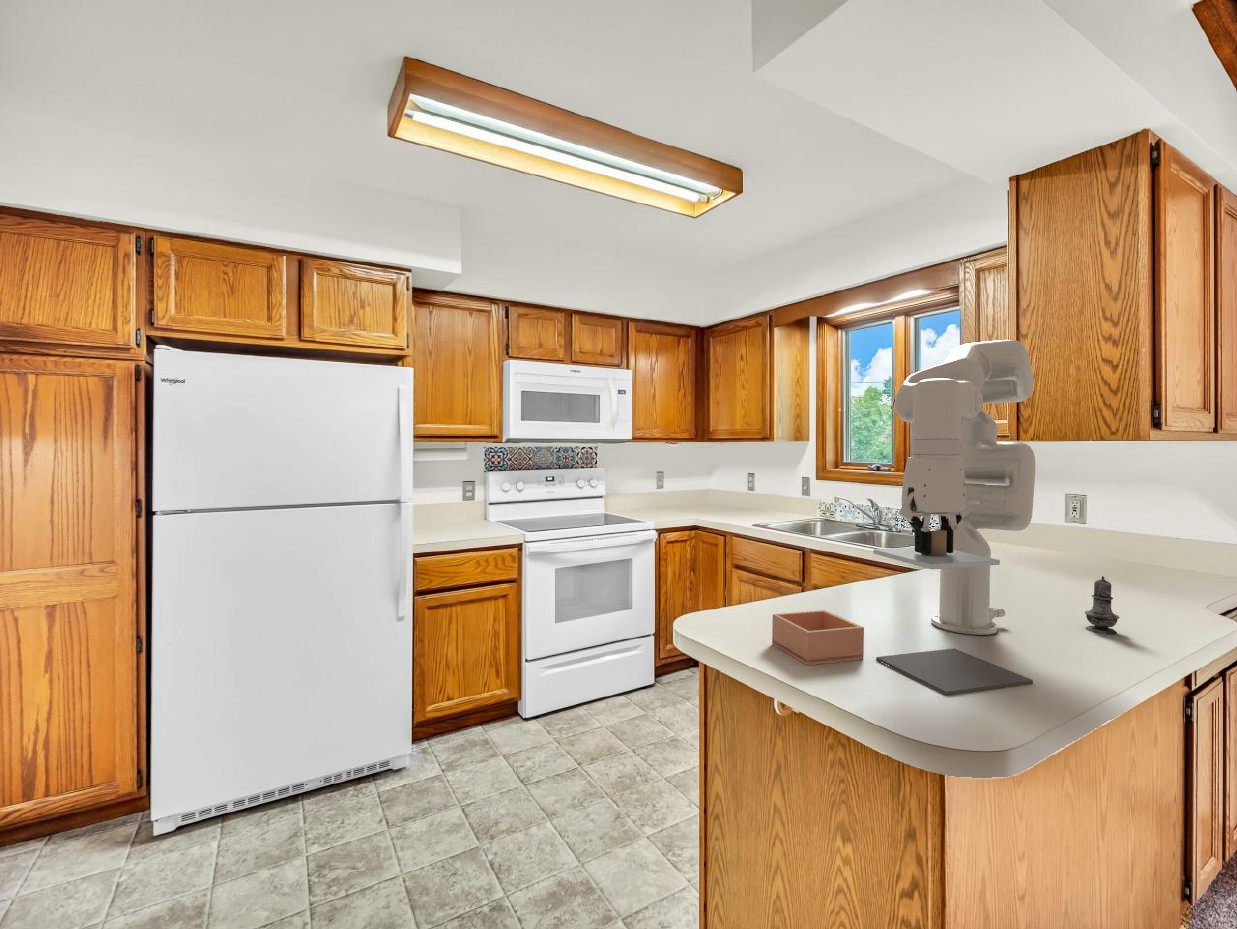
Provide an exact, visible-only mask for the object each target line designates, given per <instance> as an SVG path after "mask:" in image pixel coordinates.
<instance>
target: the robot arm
mask: <svg viewBox="0 0 1237 929" xmlns="http://www.w3.org/2000/svg"><path fill="white" fill-rule="evenodd" d="M1033 373H1034V372H1033V367H1032V364H1031V359H1030V356H1029V352H1028V350H1027V348H1026V346H1025V345H1023V343H1022V342H1020V341H1019V340H1017V339H1002V340H1001V339H999V340H992V341H990V340H989V341H980V342H971V343H970V342H969V343H965V344H962V345H959V346H958V347H956V348H955V349H954V350H953V351H952V352H951V353H950V355H949V356H948V357H947V358H946V359H945V361H944V362H942V363H940V364H937V365H933V366H931V367H929V368H925V369H922V370H920V371H917V372H915V373H912V374H911V375H908V377H906V379H905V380H904V382H903V381H902V382H903V383H902V384H901V385H900V386H899V389H898V391H897V393H896V396H895V398H894V399H895V400H894V407H895V412H896V415H897V417H898V418H899V419H900V420H901V421H903V422H905V423H911V424H912V436H911V437H912V441H911V457H909V456H908V458H907V460H906V463H905V468H904V473H903V478H902V479H903V480H902V488H901V507H900V510H899V512H898V515H899V516H900V517H902V518H903V519H904V520H906V521H907V522H908V523H909V525H910V527H911V529H912V530H913V531H914V547H915V552H918V553H922V554H930V553H931V532H928V529H929V528H930V522H931V517H932V515H937V516H938V517H937V518H938V524H939V528H938V527H936V529H944V530H947V553H953V550H957V551H961V552H966V553H970V554H975V555H979V556H984V557H988V558H992V552H991V547H990V545H989V543H988V541H987V540H986V539H985V538H984V536H983V535H982V534H981V533H980V532H979V531H978V530H982V529H983V530H985V529H987V530H996V531H999V530H1000V531H1010V532H1011V531H1012V532H1017V531H1018V532H1019V531H1024V530H1026V529H1027V528H1029V526H1030V524H1031V522H1032V518H1033V511H1034V509H1033V508H1034V499H1035V498H1034V496H1035V479H1036V456H1035V452H1034V450H1033V449H1032V446H1030V445H1029V444H1027V443H1025V442H1021V441H997V440H998V430H999V426H998V423H997V422H996V421H995V420H994V418H993V417H992V416H991V415H990V414H989V413H988V412H986V411H985V410H983V405H984V404H1006V403H1007V404H1008V403H1011V404H1012V403H1021V402H1025V401H1026V400H1028V399H1029V398H1030V396H1031V395H1032V393H1033V390H1034V385H1035V383H1034V381H1035V380H1034V374H1033ZM921 518H922V519H921ZM991 566H992V565H988V566H978V567H962V568H947V569H939V570H940V571H939V572H940V573H939V610H938V611H939V612H938V613H936V614H934V615H932V616H931V618H930V621H931V623H932V625H934V626H935V627H937V628H939V629H942V630H945V631H949V632H953V633H958V634H965V635H973V636H974V635H975V636H976V635H977V636H985V635H986V636H987V635H994V634H996V633H997V632H998V625H997V624H996V623H995V622H994V621H993V619H995V618H1003V617H1005V616H1006V611H1005V609H1004V608H1003V607H997V608H993V607H992V606H991V605H990V601H991V600H990V599H991V598H990V597H991V596H990V595H991V568H992V567H991Z"/></svg>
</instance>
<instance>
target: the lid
mask: <svg viewBox="0 0 1237 929" xmlns="http://www.w3.org/2000/svg"><path fill="white" fill-rule="evenodd" d="M928 532H931V553H930V554H922V553H918V552H915V546H912V547H909V546H907V547H893V548H892V547H891V548H890V547H888V548H874V549H873V554H874V555H878V556H881V557H885V558H888V559H893V560H897V561H899V562H902V563H907V564H911V565H914V566H916V567H917V566H918V567H921V568H925V569H928V570H940V569H947V568H962V567H978V566H988V565H991V566H1000V565H1001V561H1000V559H997V558H993V557H991V558H988V557H984V556H979V555H975V554H970V553H966V552H961V551H957V550H953V553H947V530H944V529H937V527H936V528H934V527H929V529H928Z"/></svg>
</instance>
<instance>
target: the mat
mask: <svg viewBox="0 0 1237 929" xmlns="http://www.w3.org/2000/svg"><path fill="white" fill-rule="evenodd" d="M875 660H876V661H877V662H879V663H881V662H883V663H885V664H887V665H889V666H890V667H889V666H888V667H889V668H891V667H892V669H893V668H894V669H893V670H895V669H896V670H895V671H897V670H898V671H897V672H899V671H900V672H899V673H901V672H902V673H901V674H903V673H904V674H903V675H905V676H907V677H909V678H910V679H913V680H914V681H916V682H919V683H920V684H923V685H925V686H926V687H929V688H931V689H933V690H935V691H936V692H939V693H940V692H941V693H940V694H942V693H943V694H942V695H944V694H945V696H952V695H953V696H954V695H957V694H958V695H959V694H968V693H973V692H982V691H987V690H994V689H995V690H996V689H1003V688H1009V687H1018V686H1023V685H1031V684H1034V682H1033V681H1034V680H1033V679H1032V678H1029V677H1026V676H1024V675H1021V674H1019V673H1017V672H1014V671H1012V670H1010V669H1007V668H1004V667H1002V666H999V665H997V664H994V663H992V662H989V661H987V660H985V659H982V658H979V657H976V656H974V655H972V654H969V653H966V652H964V651H962V650H959V649H956V648H954V647H953V648H945V649H936V650H927V651H926V650H925V651H917V652H908V653H902V654H901V653H900V654H892V655H883V656H876V657H875ZM883 663H882V664H883ZM885 664H884V665H885ZM887 665H886V666H887Z"/></svg>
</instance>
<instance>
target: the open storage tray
mask: <svg viewBox="0 0 1237 929" xmlns="http://www.w3.org/2000/svg"><path fill="white" fill-rule="evenodd" d="M771 628H772V633H771V634H772V635H771V640H772V641H771V644H772V645H773V646H775V647H776V648H778V649H779V650H781V651H783V652H785V653H786V654H788V655H789V656H791V657H793V658H794V659H795V660H797V661H799V662H800V663H802V664H804V665H806V666H809V667H810V666H816V664H818V665H823V663H826V664H830V663H829V662H835V663H844V662H852V661H851V660H853V661H859V660H860V661H861V659H862V660H864V657H865V656H864V653H865V652H864V650H865V649H864V648H865V647H864V646H865V627H864V626H862V625H859V624H857V623H855V622H852V621H850V620H848V619H845V618H843V617H842V616H839V615H837V614H835V613H832V612H829V611H827V610H825V609H823V610H822V609H821V610H820V609H819V610H808V611H798V612H797V611H796V612H785V613H773V614H772V627H771ZM843 661H844V662H843Z"/></svg>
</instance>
